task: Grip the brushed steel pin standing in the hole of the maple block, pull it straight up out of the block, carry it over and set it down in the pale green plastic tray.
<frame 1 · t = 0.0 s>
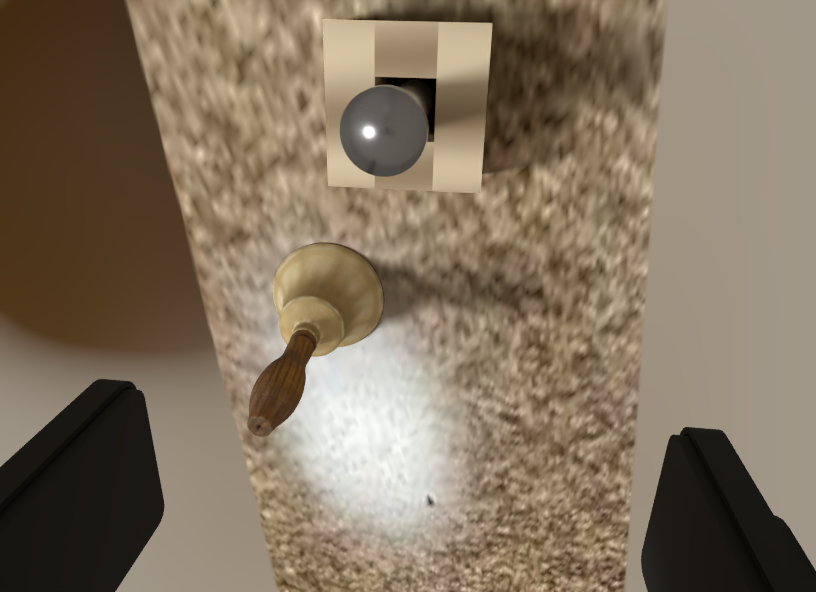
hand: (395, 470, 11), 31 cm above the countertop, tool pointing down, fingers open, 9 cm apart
hand bell: (329, 294, 45), on the countertop
hitch block: (414, 100, 38), on the countertop
steel pin: (401, 113, 32), in the hitch block
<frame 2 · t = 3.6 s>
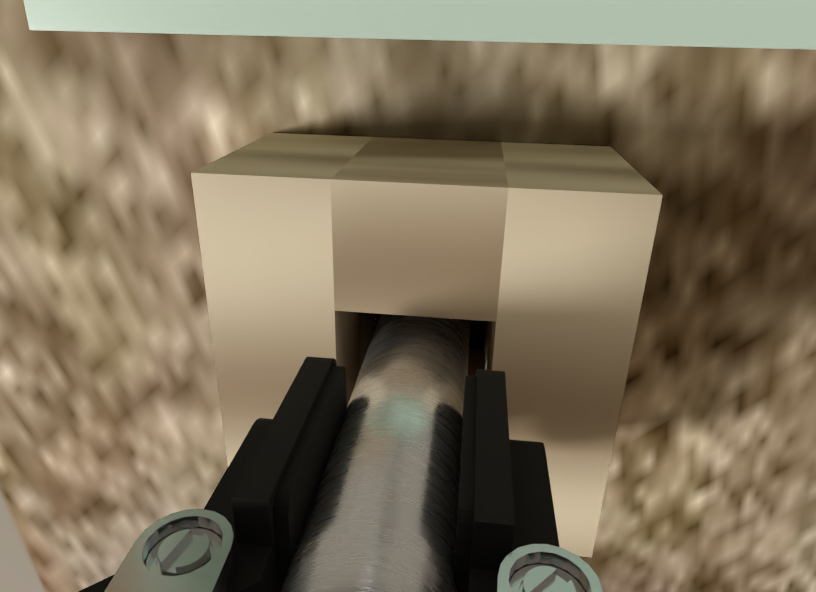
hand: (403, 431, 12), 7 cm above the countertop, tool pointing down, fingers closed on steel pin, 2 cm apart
hitch block: (430, 294, 18), on the countertop
steel pin: (403, 429, 12), in the hitch block, touching gripper
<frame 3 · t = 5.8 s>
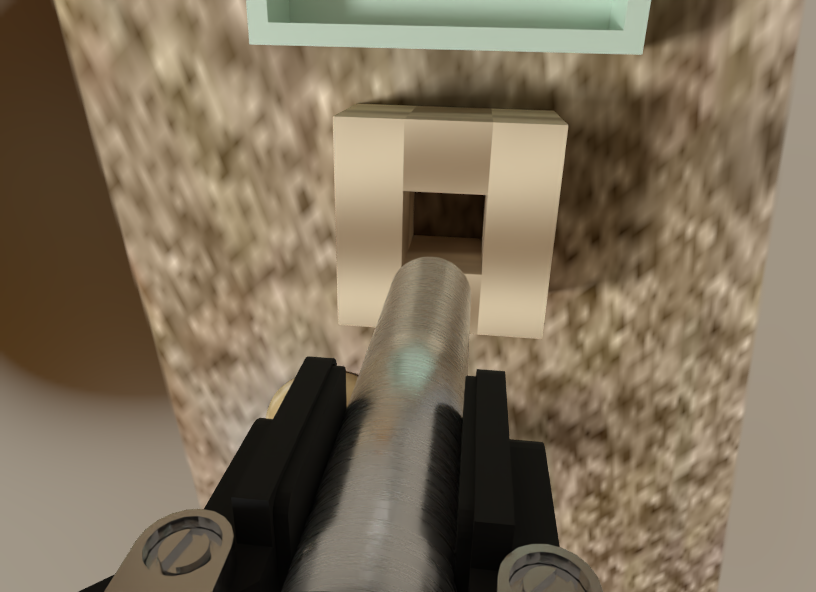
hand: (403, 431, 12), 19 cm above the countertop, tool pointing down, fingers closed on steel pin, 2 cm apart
hand bell: (336, 428, 36), on the countertop
hitch block: (449, 203, 29), on the countertop
steel pin: (404, 428, 12), point 19 cm above the countertop, touching gripper
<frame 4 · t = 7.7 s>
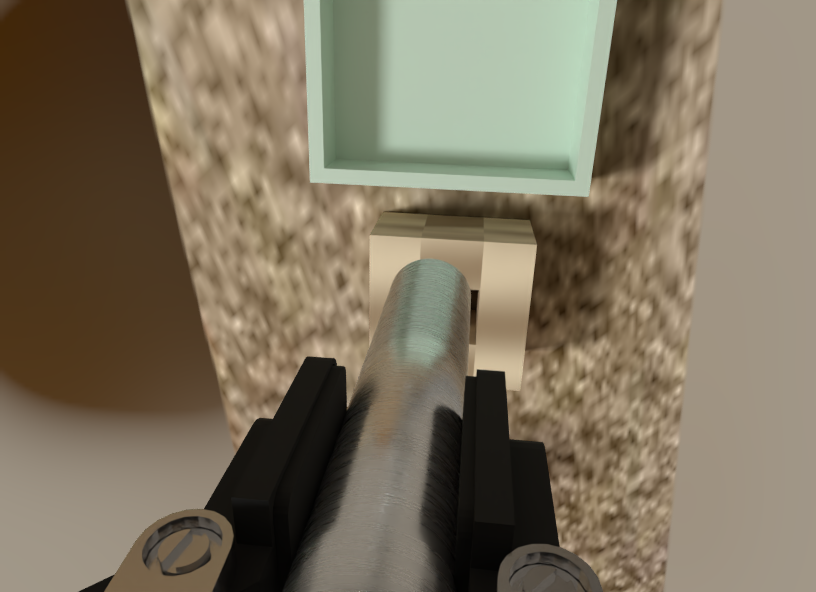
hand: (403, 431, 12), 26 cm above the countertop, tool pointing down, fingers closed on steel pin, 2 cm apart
hitch block: (451, 284, 39), on the countertop
steel pin: (403, 431, 12), point 26 cm above the countertop, touching gripper
tray: (456, 48, 34), on the countertop
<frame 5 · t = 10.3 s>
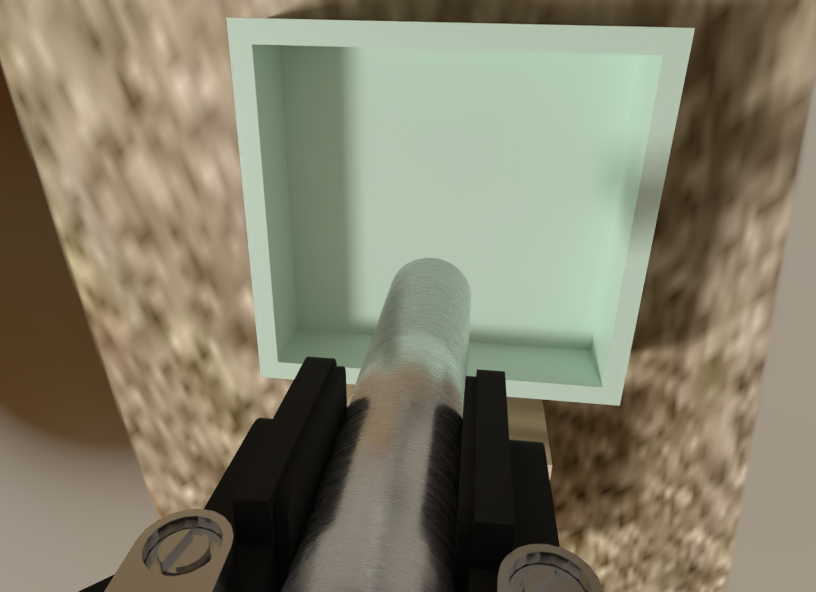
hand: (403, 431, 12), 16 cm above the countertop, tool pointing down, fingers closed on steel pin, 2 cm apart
hitch block: (445, 461, 32), on the countertop
steel pin: (403, 431, 12), point 16 cm above the countertop, touching gripper
tray: (448, 201, 26), on the countertop
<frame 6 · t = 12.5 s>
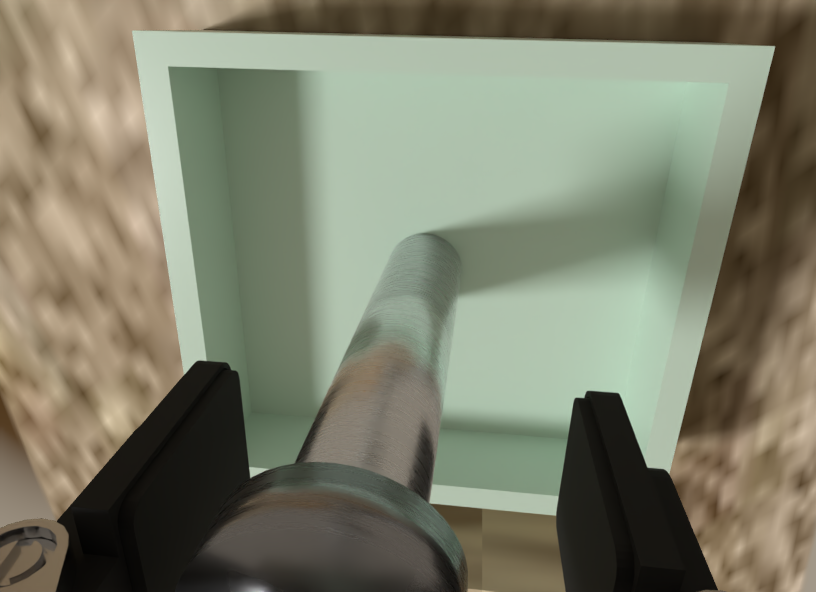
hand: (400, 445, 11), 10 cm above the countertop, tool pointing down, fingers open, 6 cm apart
hitch block: (435, 562, 26), on the countertop
steel pin: (393, 374, 14), in the tray, point 8 cm above the countertop
tray: (437, 259, 21), on the countertop
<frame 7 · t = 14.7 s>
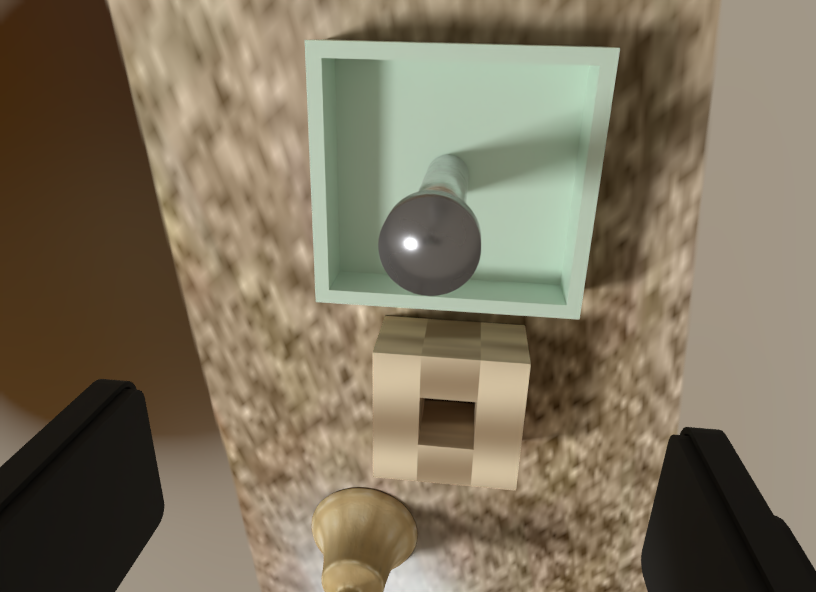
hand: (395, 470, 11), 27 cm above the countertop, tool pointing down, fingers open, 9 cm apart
hand bell: (365, 527, 47), on the countertop
hitch block: (450, 380, 41), on the countertop
steel pin: (440, 204, 28), in the tray, point 8 cm above the countertop
tray: (454, 173, 35), on the countertop
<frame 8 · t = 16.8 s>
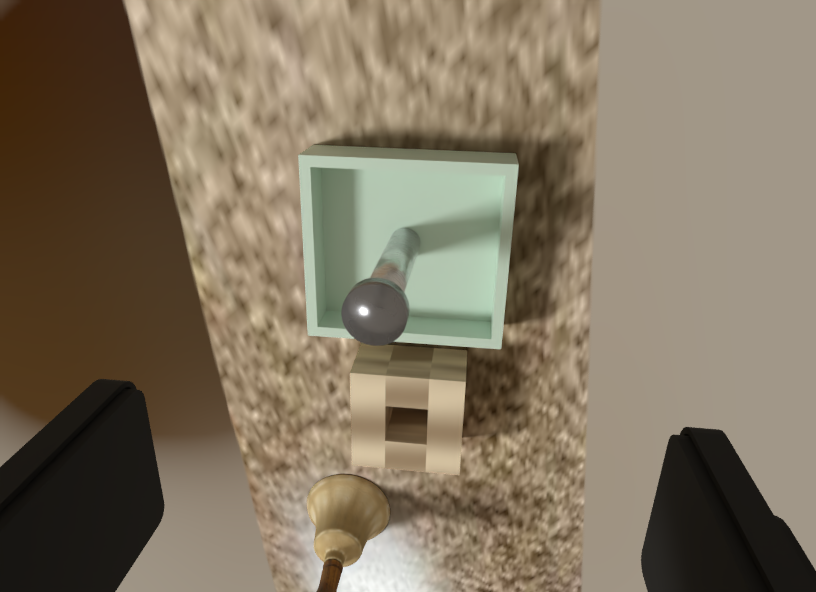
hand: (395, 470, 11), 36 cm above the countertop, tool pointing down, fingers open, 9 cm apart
hand bell: (349, 505, 60), on the countertop
hitch block: (412, 391, 53), on the countertop
steel pin: (391, 274, 40), in the tray, point 8 cm above the countertop
tray: (410, 239, 47), on the countertop
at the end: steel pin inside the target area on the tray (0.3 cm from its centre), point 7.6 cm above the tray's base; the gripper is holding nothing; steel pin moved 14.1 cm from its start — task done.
